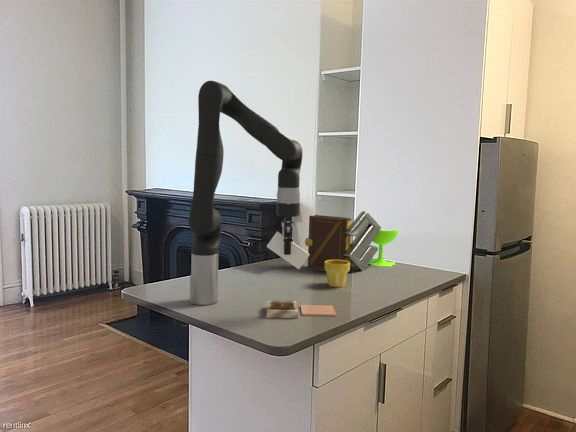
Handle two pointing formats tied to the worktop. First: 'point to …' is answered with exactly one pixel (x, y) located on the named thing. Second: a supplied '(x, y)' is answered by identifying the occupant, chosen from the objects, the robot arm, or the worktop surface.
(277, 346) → the worktop surface
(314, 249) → the wooden crate
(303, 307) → the terracotta tile
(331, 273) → the plant pot
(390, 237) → the wineglass
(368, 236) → the emblem
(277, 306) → the walnut offcut left
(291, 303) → the walnut offcut right
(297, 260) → the light grey flat block
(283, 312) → the birch rack
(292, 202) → the robot arm
